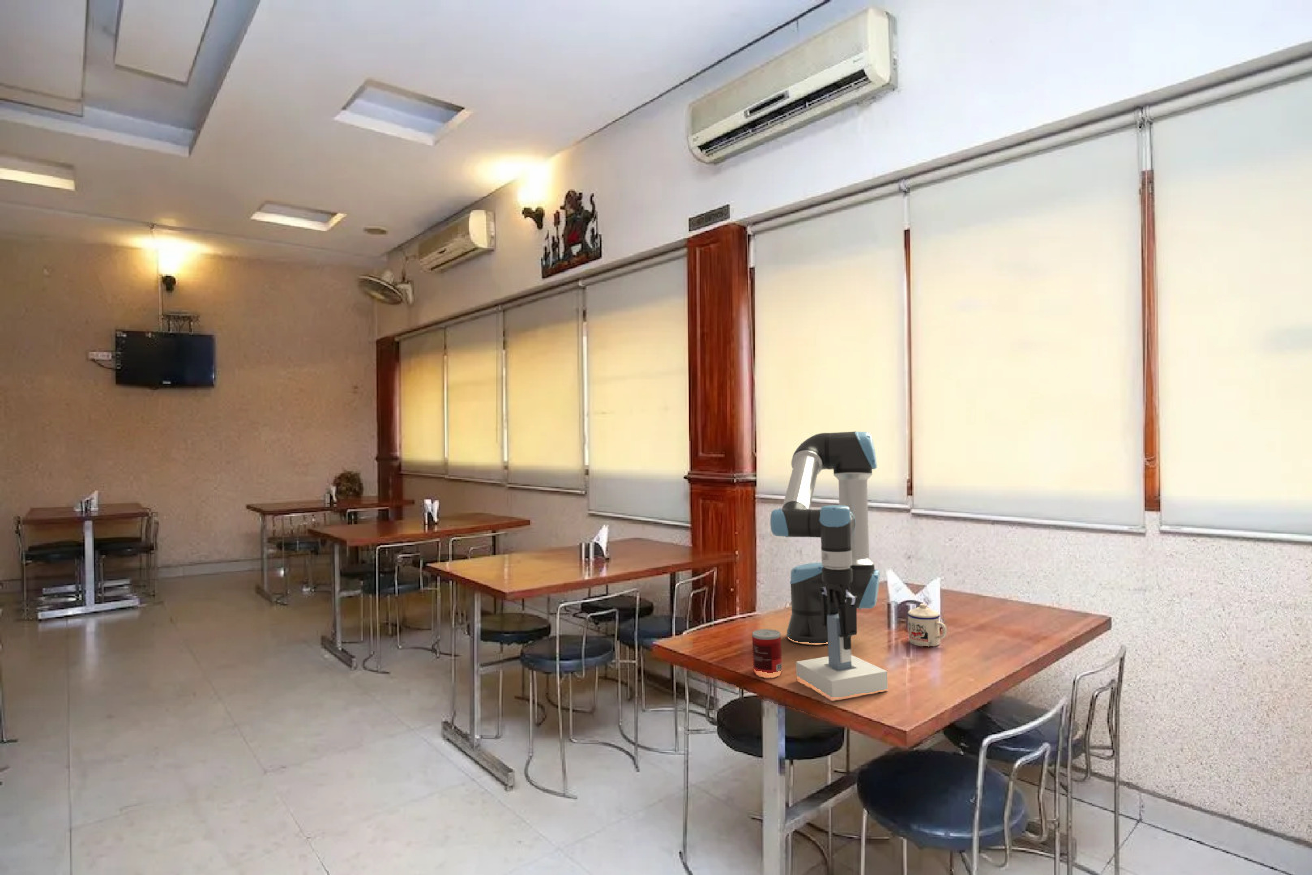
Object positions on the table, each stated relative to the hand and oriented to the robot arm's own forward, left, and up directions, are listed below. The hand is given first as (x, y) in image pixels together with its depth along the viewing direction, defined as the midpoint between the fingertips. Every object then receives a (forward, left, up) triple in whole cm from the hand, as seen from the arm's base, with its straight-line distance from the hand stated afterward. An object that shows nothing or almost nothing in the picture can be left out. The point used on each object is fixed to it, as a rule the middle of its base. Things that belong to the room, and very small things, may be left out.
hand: (839, 658), depth 175 cm
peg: (0, 0, -2) cm, 2 cm away
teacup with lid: (-18, +44, -7) cm, 48 cm away
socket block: (0, 0, -7) cm, 7 cm away
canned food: (-16, -12, -7) cm, 21 cm away
